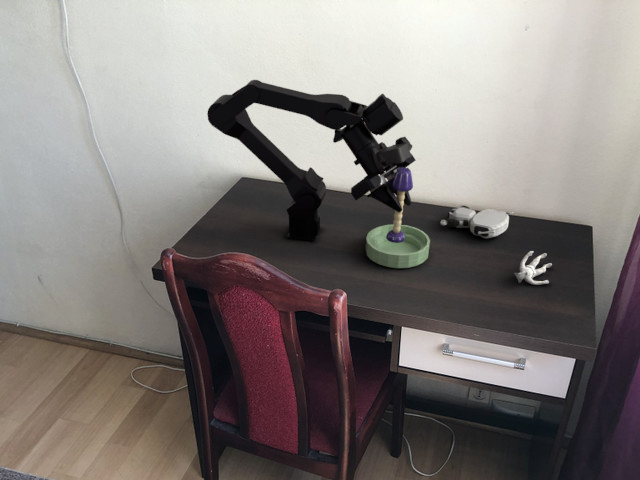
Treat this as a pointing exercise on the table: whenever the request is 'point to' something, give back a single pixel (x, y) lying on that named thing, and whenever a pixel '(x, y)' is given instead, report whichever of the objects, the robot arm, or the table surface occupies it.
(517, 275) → the white figurine
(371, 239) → the bowl
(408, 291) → the table surface
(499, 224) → the robot toy
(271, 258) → the table surface
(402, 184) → the toy lamp
